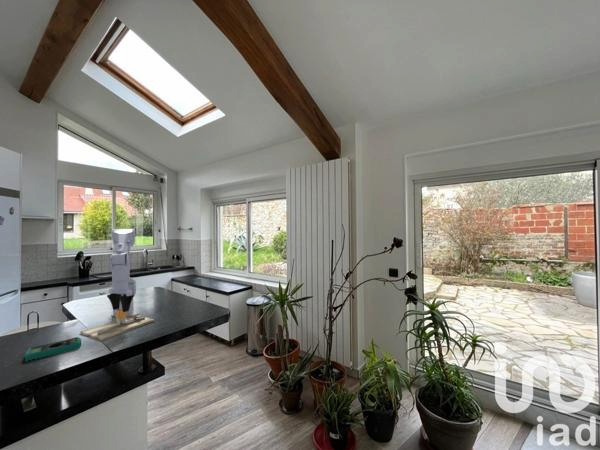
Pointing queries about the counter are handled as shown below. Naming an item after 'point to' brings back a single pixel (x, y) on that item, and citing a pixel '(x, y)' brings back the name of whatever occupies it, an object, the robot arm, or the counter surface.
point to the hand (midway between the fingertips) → (120, 310)
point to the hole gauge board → (116, 327)
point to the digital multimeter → (53, 348)
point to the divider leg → (121, 316)
